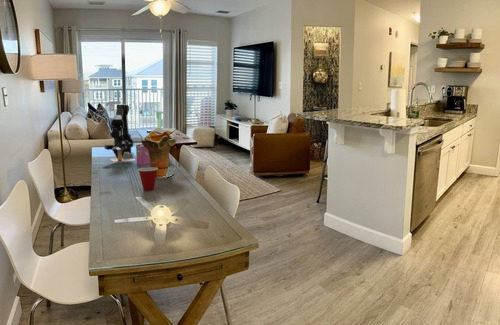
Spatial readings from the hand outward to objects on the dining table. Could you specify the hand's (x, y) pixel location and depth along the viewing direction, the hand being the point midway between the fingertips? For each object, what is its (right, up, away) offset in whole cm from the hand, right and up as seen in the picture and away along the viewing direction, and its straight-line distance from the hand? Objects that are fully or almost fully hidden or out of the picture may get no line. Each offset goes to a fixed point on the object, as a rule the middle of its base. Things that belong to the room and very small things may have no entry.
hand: (119, 157), depth 286 cm
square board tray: (+1, -2, +5) cm, 5 cm away
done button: (+2, +1, +12) cm, 12 cm away
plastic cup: (+38, -18, -67) cm, 79 cm away
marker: (0, -2, 0) cm, 2 cm away
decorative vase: (+37, -12, -36) cm, 53 cm away
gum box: (+24, -4, +1) cm, 25 cm away
